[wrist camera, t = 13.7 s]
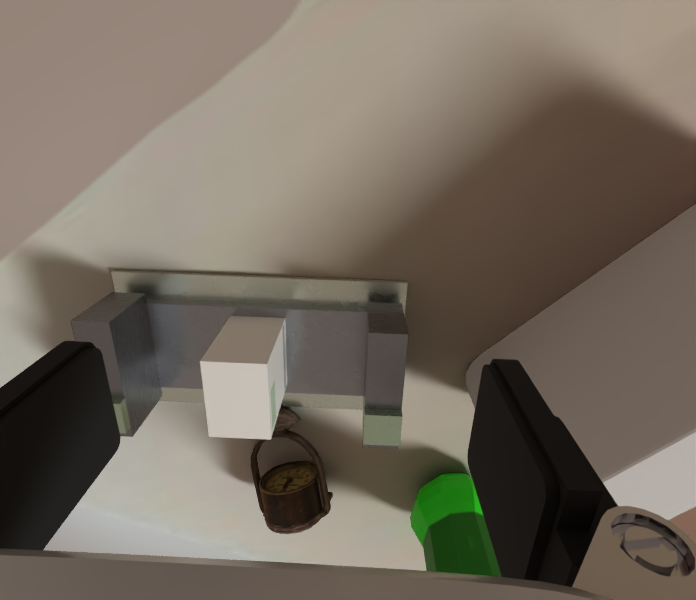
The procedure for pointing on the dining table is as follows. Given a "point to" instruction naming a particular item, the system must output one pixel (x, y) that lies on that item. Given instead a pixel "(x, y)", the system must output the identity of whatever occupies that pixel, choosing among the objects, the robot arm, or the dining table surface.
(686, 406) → the rounded white slab
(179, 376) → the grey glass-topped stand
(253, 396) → the block
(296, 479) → the brown antique clock
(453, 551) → the plastic bottle
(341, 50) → the dining table surface
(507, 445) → the robot arm
